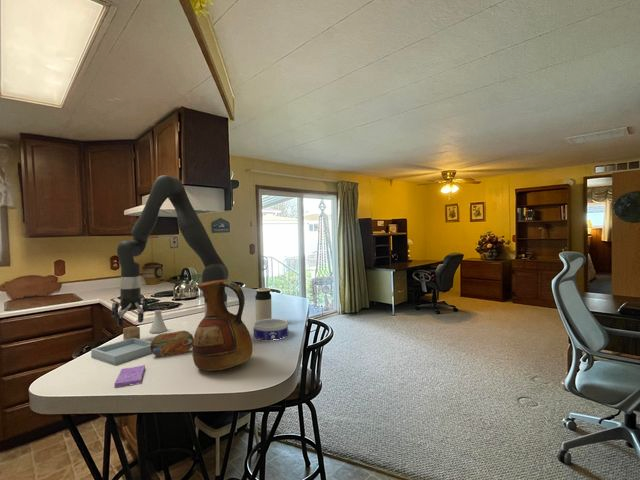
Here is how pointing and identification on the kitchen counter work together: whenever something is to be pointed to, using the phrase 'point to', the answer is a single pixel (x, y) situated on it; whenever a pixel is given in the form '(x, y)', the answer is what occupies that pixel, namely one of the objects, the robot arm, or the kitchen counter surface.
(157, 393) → the kitchen counter surface
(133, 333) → the walnut block
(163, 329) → the flask
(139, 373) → the sponges
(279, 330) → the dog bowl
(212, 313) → the ceramic pitcher
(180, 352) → the tin
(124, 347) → the tray
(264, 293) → the travel mug
